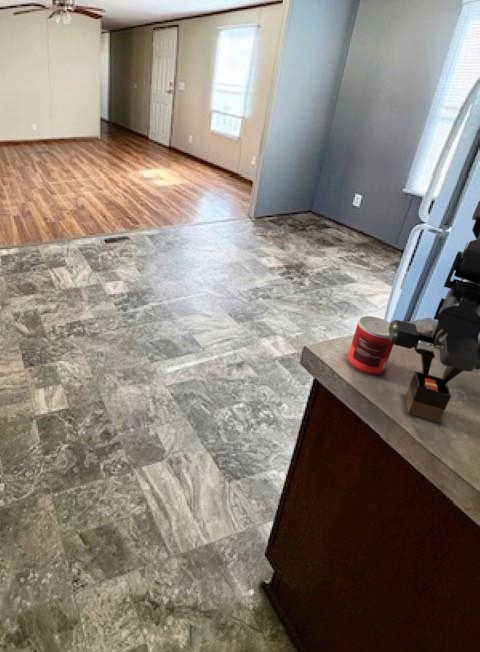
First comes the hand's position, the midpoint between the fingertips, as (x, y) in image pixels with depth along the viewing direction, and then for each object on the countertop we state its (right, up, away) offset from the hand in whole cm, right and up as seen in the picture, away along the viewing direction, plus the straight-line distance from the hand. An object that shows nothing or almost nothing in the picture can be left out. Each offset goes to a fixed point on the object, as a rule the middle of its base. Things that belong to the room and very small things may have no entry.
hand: (433, 379), depth 84 cm
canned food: (-3, -2, +16) cm, 17 cm away
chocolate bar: (0, -3, +2) cm, 4 cm away
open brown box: (0, -4, +2) cm, 4 cm away
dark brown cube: (0, -7, +3) cm, 8 cm away
